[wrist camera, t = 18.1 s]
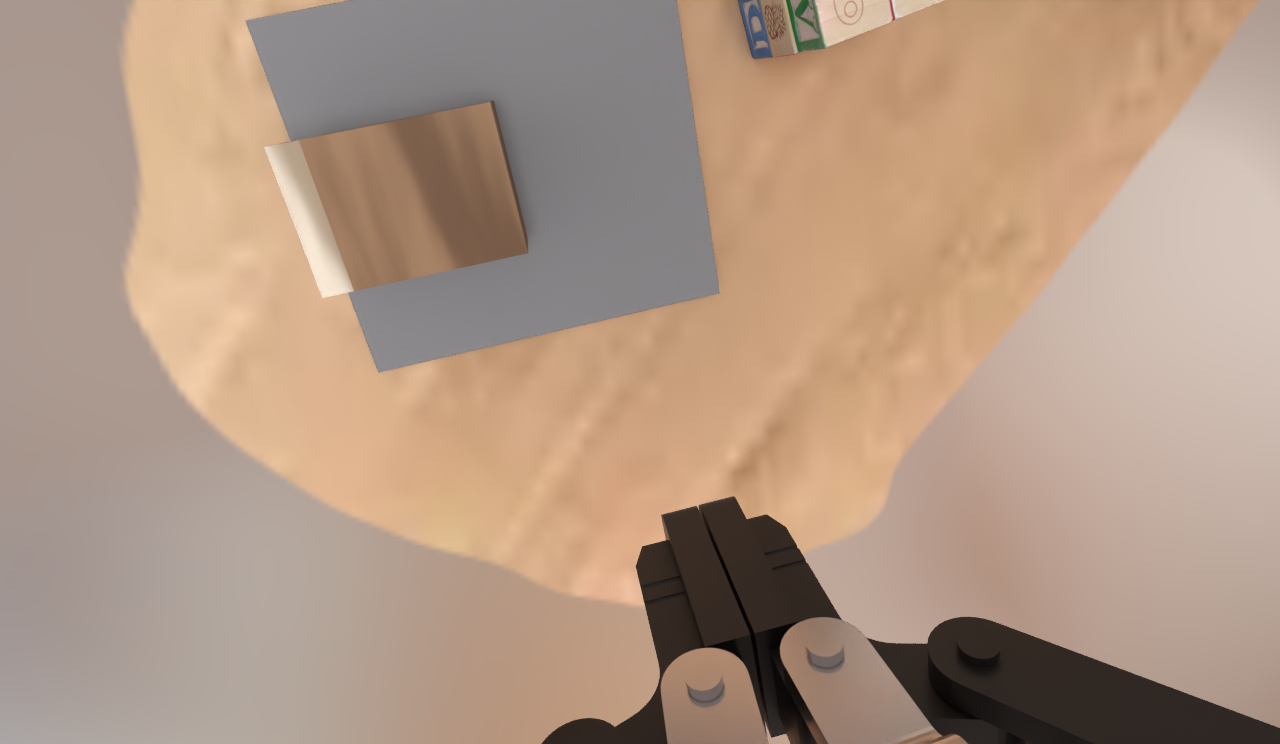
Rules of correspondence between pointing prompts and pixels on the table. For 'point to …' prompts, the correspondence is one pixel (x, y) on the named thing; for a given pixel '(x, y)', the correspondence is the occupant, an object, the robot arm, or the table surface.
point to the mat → (519, 153)
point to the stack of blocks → (816, 22)
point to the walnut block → (402, 198)
